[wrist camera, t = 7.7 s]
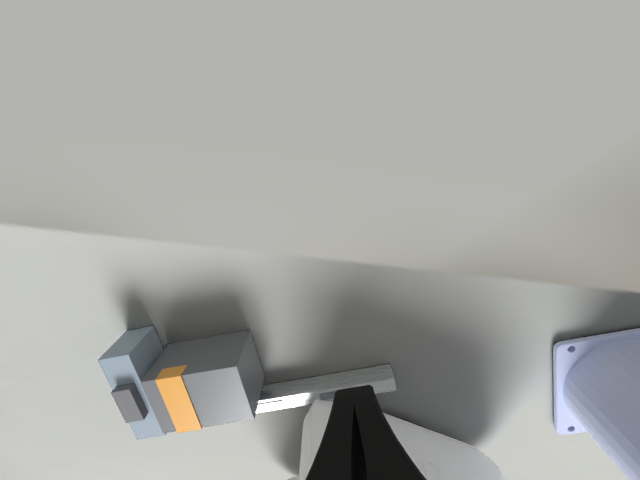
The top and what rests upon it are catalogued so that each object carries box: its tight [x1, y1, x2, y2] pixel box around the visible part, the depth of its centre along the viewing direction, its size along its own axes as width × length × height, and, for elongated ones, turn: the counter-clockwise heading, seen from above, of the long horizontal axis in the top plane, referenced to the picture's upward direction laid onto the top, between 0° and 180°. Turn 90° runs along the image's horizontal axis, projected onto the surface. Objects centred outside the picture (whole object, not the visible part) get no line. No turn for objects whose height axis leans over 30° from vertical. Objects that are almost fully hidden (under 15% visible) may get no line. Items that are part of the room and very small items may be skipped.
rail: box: [256, 364, 396, 413], centre depth 25 cm, size 18×1×2 cm, turn 102°
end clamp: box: [98, 326, 166, 440], centre depth 23 cm, size 2×6×4 cm, turn 13°
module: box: [140, 330, 265, 433], centre depth 23 cm, size 6×4×4 cm
